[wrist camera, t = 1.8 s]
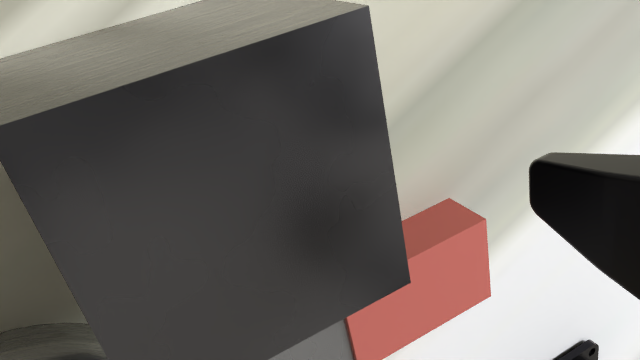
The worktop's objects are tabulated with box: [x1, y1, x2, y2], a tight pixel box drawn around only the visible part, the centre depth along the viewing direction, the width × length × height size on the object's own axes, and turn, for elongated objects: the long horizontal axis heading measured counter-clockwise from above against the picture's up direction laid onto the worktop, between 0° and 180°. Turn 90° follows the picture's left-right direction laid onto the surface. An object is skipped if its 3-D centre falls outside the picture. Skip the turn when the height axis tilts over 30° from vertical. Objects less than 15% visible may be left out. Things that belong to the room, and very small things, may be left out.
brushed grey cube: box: [0, 0, 411, 360], centre depth 13 cm, size 6×6×6 cm
